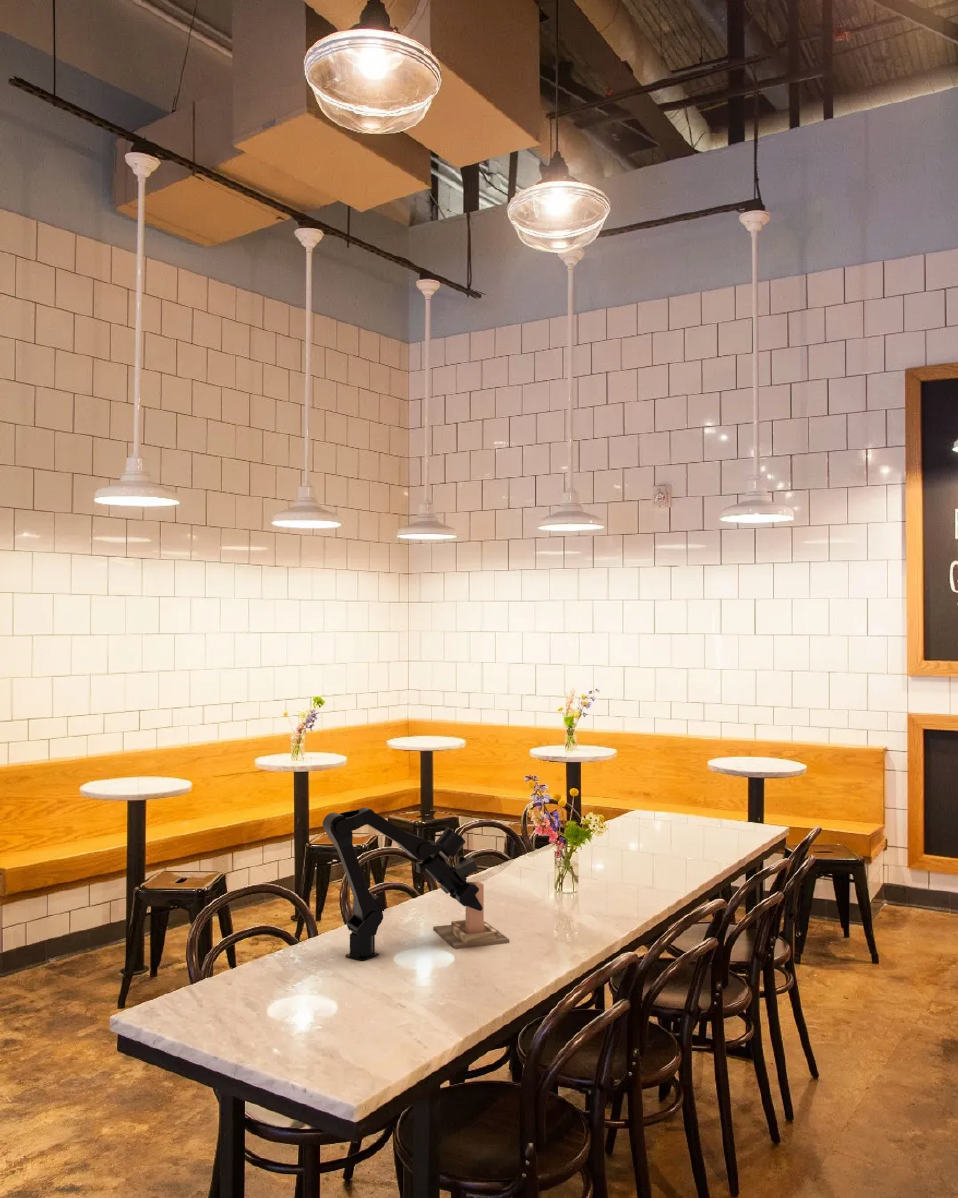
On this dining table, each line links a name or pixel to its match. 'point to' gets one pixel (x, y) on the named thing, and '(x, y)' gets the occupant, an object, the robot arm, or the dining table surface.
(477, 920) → the terracotta post
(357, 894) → the robot arm
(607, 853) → the dining table surface
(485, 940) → the square socket board
